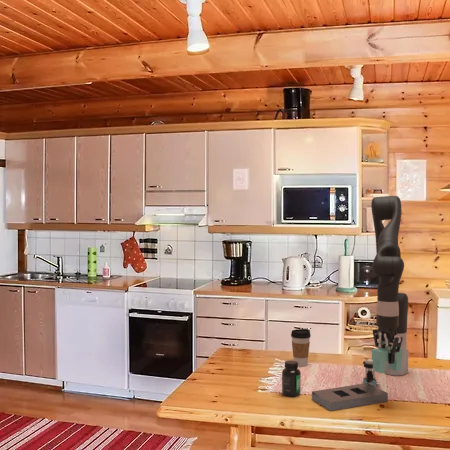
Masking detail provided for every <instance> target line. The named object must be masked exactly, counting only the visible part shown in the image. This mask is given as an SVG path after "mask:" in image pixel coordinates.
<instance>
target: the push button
mask: <svg viewBox="0 0 450 450" xmlns="http://www.w3.org/2000/svg"><path fill="white" fill-rule="evenodd" d="M362 364H363V367H364V368H365V369H364V370H365V371H364V372H365V374H364V377H363V379H362V384H364V383H368V384H370V385H373V386H375V387H377V386H381V381H377V379H376V377H375V375H376V373H375V372H376V371H373V360H372V358H366V359H365V361H363V362H362Z"/></svg>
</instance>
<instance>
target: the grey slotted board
mask: <svg viewBox="0 0 450 450" xmlns="http://www.w3.org/2000/svg"><path fill="white" fill-rule="evenodd" d="M311 400H312V401H314V403H317V404H319V405H320V406H322V407H323V408H324V409H326V410H328V411H329V412H333V411H338V410H345V409H351V408H355V407H357V408H358V407H362V406H369V405H375V404H380V403H381V404H382V403H386V402H388V400H389V392H387V391H384V390H382V389H381V388H379V387H377V386H376V387H375V386H373V385H370V384H368V383H364V384H363V383H359V384H357V383H356V384H351V385H345V386H340V387H339V386H337V387H331V388H327V389H326V388H325V389H318V390H313V391H311Z"/></svg>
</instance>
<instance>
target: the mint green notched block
mask: <svg viewBox="0 0 450 450" xmlns="http://www.w3.org/2000/svg"><path fill="white" fill-rule="evenodd" d="M396 349H397V347H396ZM391 350H392V347H391ZM371 359H372V360H373V369H372V371H375V372H376V373H379V374H386V373H385V361H388V347H386V348H378V347H377V348H372V349H371ZM401 359H402V349H401V348H400V351H399V352H396V353H395V362H394V363H393V364H389V368H391V369H393V370H395V371H399V370H401Z"/></svg>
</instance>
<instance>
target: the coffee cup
mask: <svg viewBox="0 0 450 450" xmlns="http://www.w3.org/2000/svg"><path fill="white" fill-rule="evenodd" d="M290 337H291V347H292V349H291V350H292V358H293V360H292V361H297V362H298V367H306V366H307V367H308V365H309V363H308V362H309V361H308V360H309V352H310V343H311V341H310V340H311V339H310V338H311V330H310V329H308V328H298V329H296V328H295V329H293V330H291V333H290Z"/></svg>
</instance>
